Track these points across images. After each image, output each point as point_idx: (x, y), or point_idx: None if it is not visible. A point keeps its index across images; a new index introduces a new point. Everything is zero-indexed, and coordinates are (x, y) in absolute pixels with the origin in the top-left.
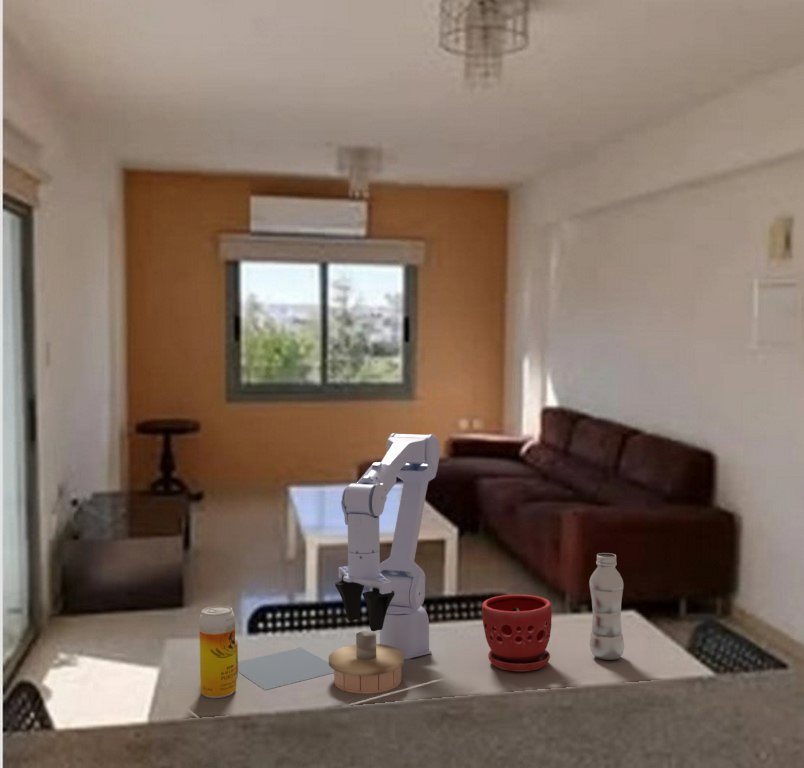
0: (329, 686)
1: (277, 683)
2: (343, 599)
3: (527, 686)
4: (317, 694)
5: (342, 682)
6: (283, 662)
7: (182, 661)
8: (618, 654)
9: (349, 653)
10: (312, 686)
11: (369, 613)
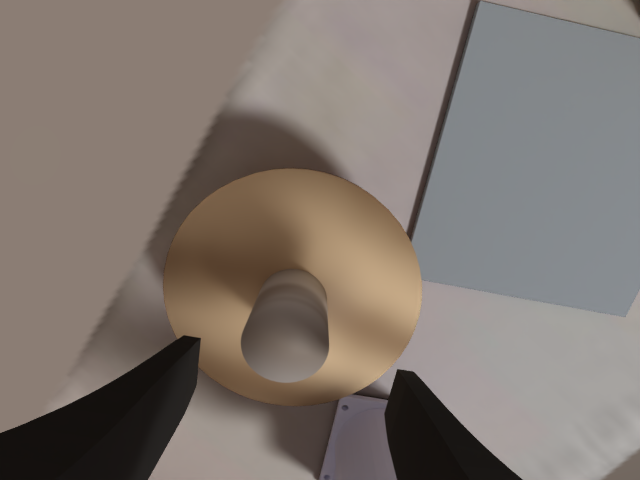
0: (354, 181)
1: (486, 71)
2: (481, 460)
3: None
4: (335, 114)
5: None
6: (591, 205)
7: None
8: None
9: (357, 282)
10: (392, 147)
11: (128, 390)
